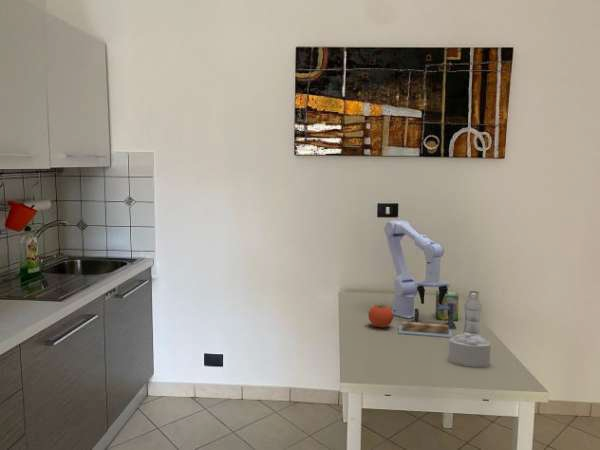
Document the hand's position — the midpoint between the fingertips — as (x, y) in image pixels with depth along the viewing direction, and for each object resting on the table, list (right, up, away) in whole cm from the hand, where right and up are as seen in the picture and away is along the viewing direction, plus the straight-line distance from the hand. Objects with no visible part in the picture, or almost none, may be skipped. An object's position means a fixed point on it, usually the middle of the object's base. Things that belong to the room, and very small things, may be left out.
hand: (431, 303), depth 204 cm
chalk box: (+10, -9, +12) cm, 18 cm away
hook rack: (+1, -9, 0) cm, 9 cm away
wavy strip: (-5, -10, -10) cm, 15 cm away
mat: (-5, -10, -10) cm, 15 cm away
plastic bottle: (+9, -12, -22) cm, 27 cm away
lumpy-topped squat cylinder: (+2, -14, -39) cm, 41 cm away
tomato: (-22, -10, -3) cm, 25 cm away
